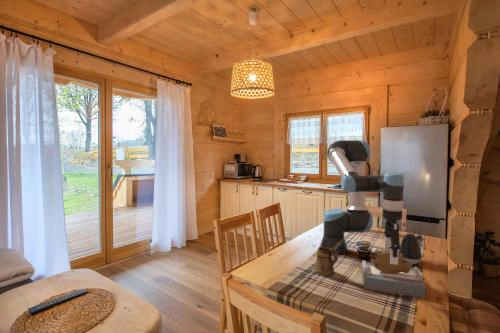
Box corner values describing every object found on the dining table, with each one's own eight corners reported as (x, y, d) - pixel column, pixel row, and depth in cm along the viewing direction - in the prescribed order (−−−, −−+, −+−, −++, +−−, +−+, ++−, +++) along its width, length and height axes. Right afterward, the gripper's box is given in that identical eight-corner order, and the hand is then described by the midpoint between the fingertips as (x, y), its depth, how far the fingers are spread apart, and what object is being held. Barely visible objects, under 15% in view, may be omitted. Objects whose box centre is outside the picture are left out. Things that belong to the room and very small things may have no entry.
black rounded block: (425, 267, 130) (426, 237, 129) (402, 265, 132) (403, 236, 132) (416, 259, 140) (417, 231, 139) (395, 257, 142) (396, 230, 141)
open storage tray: (364, 288, 110) (365, 271, 110) (361, 272, 125) (361, 257, 125) (425, 298, 103) (425, 279, 103) (413, 279, 118) (414, 263, 118)
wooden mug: (337, 281, 116) (337, 241, 115) (310, 271, 126) (311, 234, 125) (346, 274, 123) (346, 237, 122) (320, 265, 132) (320, 230, 131)
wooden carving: (407, 271, 115) (408, 248, 114) (413, 276, 110) (413, 253, 110) (368, 269, 117) (369, 247, 116) (372, 274, 112) (372, 251, 112)
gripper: (410, 217, 99) (408, 271, 101) (396, 204, 123) (394, 248, 124) (388, 215, 102) (386, 268, 103) (378, 203, 125) (377, 246, 127)
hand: (390, 257), depth 114 cm, fingers open, 13 cm apart
